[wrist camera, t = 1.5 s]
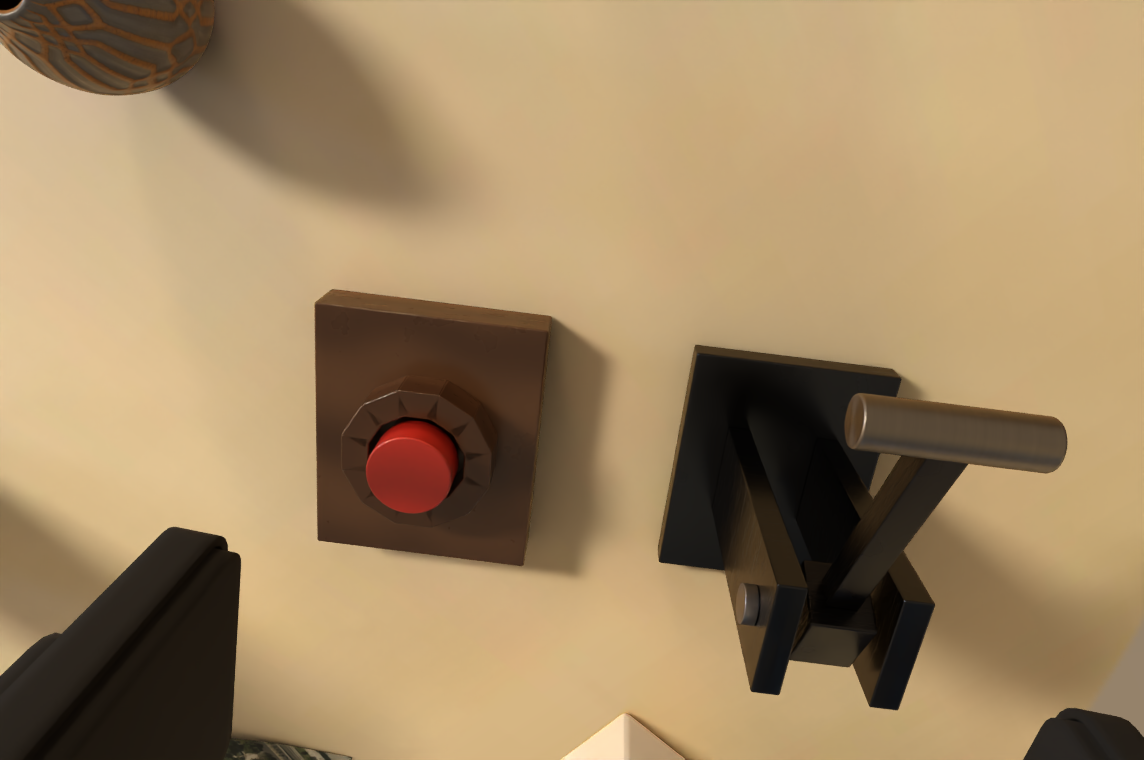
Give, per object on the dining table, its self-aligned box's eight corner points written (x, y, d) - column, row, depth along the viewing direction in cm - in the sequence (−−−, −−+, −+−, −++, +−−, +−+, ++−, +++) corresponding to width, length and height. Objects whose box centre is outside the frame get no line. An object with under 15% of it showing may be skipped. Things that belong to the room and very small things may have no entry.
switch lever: (856, 367, 20) (871, 440, 18) (1050, 391, 20) (1083, 466, 18) (742, 592, 29) (746, 655, 27) (877, 609, 29) (889, 673, 27)
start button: (377, 414, 33) (365, 432, 32) (461, 425, 33) (453, 443, 32) (376, 488, 35) (364, 508, 33) (456, 497, 35) (448, 519, 33)
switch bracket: (694, 343, 35) (734, 485, 23) (893, 368, 35) (1034, 523, 23) (657, 549, 39) (675, 757, 28) (835, 571, 39) (930, 790, 27)
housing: (331, 288, 35) (297, 314, 31) (552, 315, 35) (545, 345, 31) (332, 516, 40) (302, 563, 36) (528, 541, 40) (519, 590, 36)
